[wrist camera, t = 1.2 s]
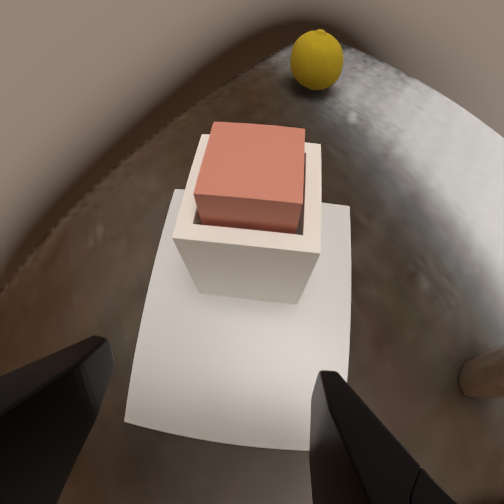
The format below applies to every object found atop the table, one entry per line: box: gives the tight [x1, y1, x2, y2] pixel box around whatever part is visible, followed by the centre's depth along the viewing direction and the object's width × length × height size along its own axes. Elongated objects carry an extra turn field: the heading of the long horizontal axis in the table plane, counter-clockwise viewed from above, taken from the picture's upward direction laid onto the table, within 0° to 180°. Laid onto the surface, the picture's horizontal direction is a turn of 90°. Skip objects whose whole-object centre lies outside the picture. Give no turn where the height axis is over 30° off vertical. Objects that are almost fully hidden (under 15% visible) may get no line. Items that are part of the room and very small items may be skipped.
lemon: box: [290, 29, 343, 91], centre depth 28 cm, size 6×6×8 cm
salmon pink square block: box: [193, 122, 305, 234], centre depth 15 cm, size 4×4×3 cm
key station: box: [124, 134, 351, 451], centre depth 18 cm, size 18×14×9 cm
